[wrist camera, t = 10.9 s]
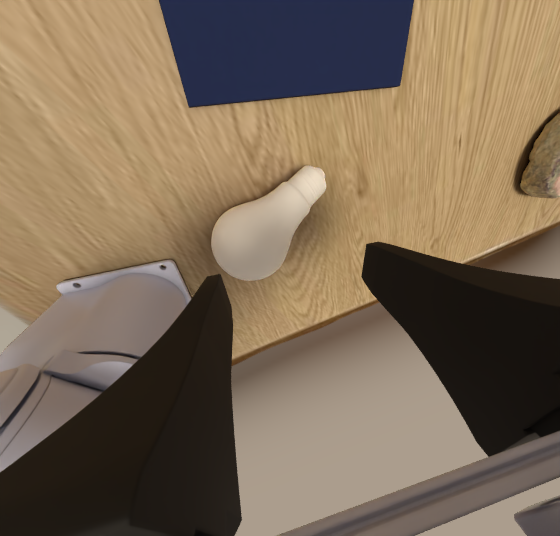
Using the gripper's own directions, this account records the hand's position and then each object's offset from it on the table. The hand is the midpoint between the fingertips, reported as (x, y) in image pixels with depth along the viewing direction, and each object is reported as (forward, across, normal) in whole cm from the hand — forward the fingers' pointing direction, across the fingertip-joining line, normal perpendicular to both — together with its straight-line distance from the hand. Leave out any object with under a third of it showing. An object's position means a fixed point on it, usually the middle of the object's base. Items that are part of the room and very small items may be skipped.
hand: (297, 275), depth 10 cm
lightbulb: (+8, -5, -3) cm, 10 cm away
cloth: (+11, -4, -12) cm, 17 cm away
